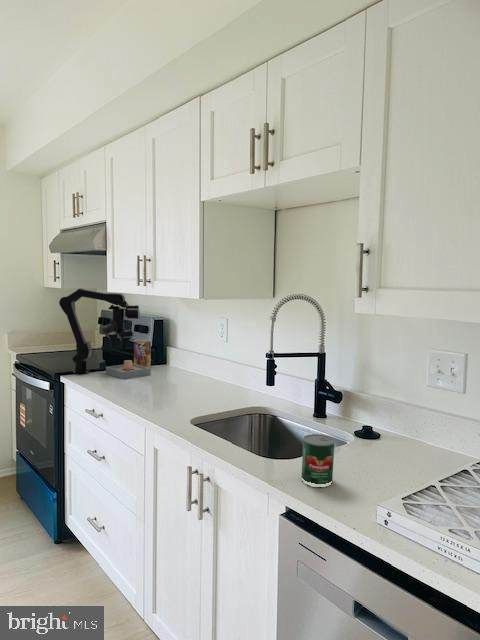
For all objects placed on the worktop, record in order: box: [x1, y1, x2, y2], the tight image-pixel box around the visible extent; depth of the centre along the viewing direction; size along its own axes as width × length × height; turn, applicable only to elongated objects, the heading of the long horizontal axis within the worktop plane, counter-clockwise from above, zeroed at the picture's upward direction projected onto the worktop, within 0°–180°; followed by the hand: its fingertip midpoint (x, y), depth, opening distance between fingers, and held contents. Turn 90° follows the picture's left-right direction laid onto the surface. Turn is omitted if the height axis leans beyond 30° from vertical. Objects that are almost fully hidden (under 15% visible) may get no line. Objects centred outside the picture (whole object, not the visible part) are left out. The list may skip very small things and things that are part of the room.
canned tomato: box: [301, 433, 336, 484], centre depth 120 cm, size 8×8×11 cm
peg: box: [123, 359, 133, 371], centre depth 239 cm, size 4×4×7 cm
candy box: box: [133, 339, 152, 368], centre depth 256 cm, size 9×4×15 cm, turn 99°
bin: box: [105, 363, 152, 380], centre depth 239 cm, size 16×16×4 cm
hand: (117, 349), depth 239 cm, fingers open, 9 cm apart
